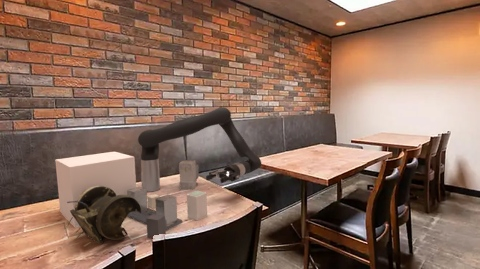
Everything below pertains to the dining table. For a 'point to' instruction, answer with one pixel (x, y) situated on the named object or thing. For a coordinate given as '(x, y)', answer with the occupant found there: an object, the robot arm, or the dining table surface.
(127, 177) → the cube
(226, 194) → the dining table surface
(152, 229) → the relay
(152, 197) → the beige rectangular block
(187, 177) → the circuit breaker
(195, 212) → the block
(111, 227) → the bench grinder
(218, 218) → the dining table surface
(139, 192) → the rail
